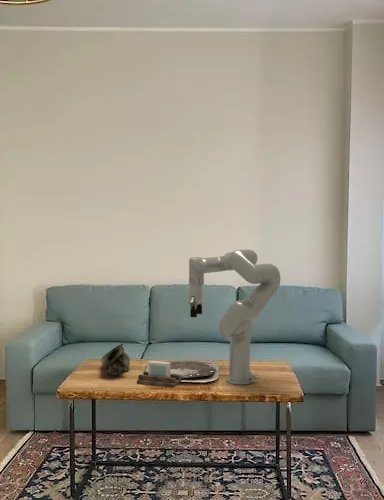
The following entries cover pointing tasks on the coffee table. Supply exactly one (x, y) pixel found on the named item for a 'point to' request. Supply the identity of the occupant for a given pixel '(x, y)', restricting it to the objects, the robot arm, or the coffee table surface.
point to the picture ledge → (158, 380)
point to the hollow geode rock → (116, 361)
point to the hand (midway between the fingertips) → (196, 315)
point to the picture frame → (159, 369)
